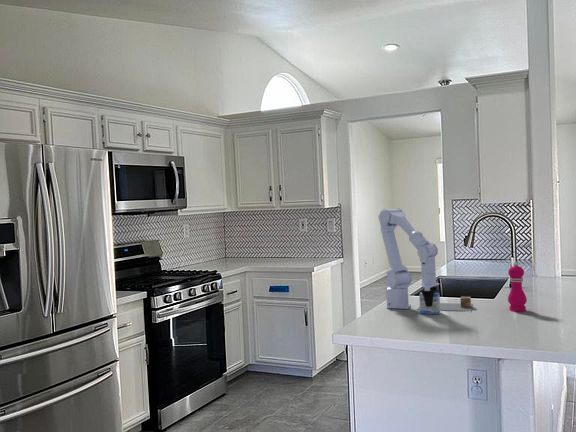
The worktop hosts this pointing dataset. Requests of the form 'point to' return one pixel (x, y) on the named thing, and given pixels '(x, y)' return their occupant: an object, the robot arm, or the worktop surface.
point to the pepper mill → (516, 289)
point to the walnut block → (465, 302)
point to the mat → (452, 307)
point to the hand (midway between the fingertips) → (429, 305)
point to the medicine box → (435, 305)
